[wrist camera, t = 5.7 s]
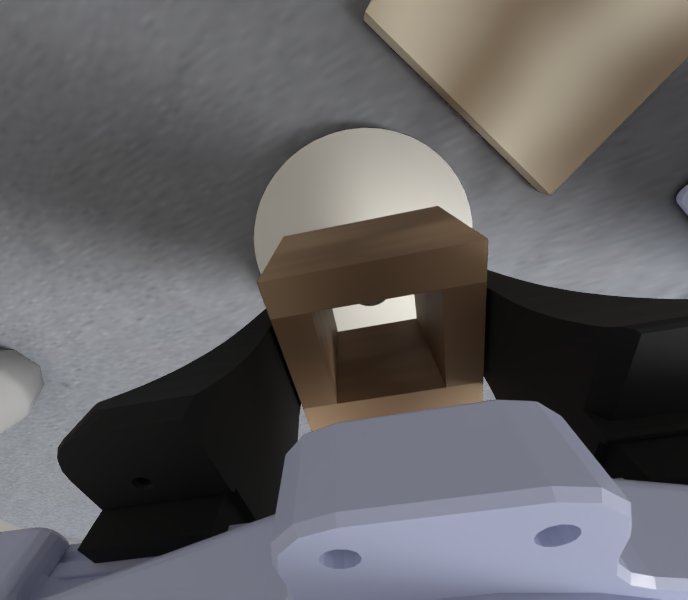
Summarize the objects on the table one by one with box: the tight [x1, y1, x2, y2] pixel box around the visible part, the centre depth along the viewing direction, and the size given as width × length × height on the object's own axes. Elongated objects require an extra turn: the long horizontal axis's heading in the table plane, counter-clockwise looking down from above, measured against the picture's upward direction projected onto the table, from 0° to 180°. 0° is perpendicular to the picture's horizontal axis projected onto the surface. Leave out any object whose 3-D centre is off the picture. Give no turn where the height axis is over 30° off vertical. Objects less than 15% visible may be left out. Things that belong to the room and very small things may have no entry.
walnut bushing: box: [257, 206, 488, 431], centre depth 10 cm, size 6×6×4 cm
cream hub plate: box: [254, 128, 472, 332], centre depth 15 cm, size 12×12×6 cm
